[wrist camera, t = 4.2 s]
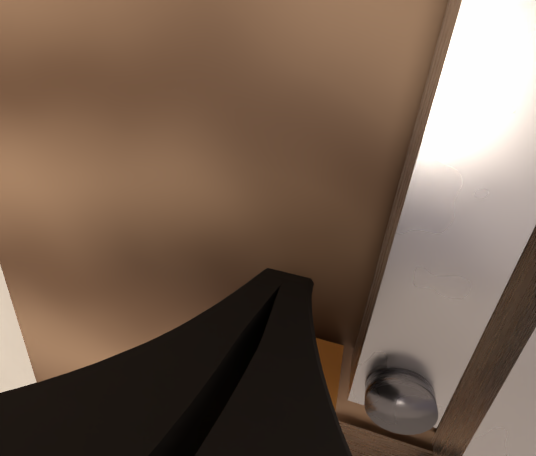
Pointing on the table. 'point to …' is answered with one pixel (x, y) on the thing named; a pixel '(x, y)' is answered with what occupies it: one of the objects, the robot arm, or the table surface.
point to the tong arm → (452, 216)
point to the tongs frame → (485, 386)
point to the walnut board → (200, 162)
